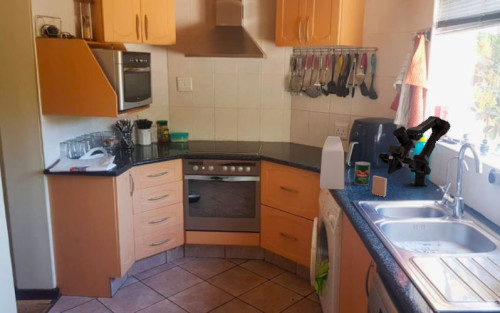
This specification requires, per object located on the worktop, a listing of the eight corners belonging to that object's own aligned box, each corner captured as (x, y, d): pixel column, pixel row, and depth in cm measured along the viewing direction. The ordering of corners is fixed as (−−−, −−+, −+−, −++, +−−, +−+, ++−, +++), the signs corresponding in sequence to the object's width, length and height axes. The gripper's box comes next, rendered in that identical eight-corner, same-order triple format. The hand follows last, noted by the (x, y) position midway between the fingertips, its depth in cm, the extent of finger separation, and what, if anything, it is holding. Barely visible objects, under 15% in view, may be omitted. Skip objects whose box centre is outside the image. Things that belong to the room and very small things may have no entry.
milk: (320, 188, 227) (321, 138, 222) (319, 182, 238) (321, 134, 233) (344, 189, 226) (346, 138, 220) (342, 183, 237) (344, 135, 231)
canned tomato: (358, 185, 233) (359, 165, 230) (351, 181, 240) (352, 162, 238) (372, 184, 235) (373, 164, 233) (364, 180, 242) (365, 161, 240)
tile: (373, 193, 219) (375, 175, 217) (385, 196, 213) (386, 178, 212) (371, 193, 218) (373, 176, 216) (383, 197, 213) (384, 178, 211)
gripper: (381, 136, 225) (366, 160, 221) (414, 141, 210) (398, 167, 206) (390, 150, 231) (375, 174, 227) (422, 156, 216) (407, 181, 212)
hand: (388, 173), depth 218 cm, fingers closed
